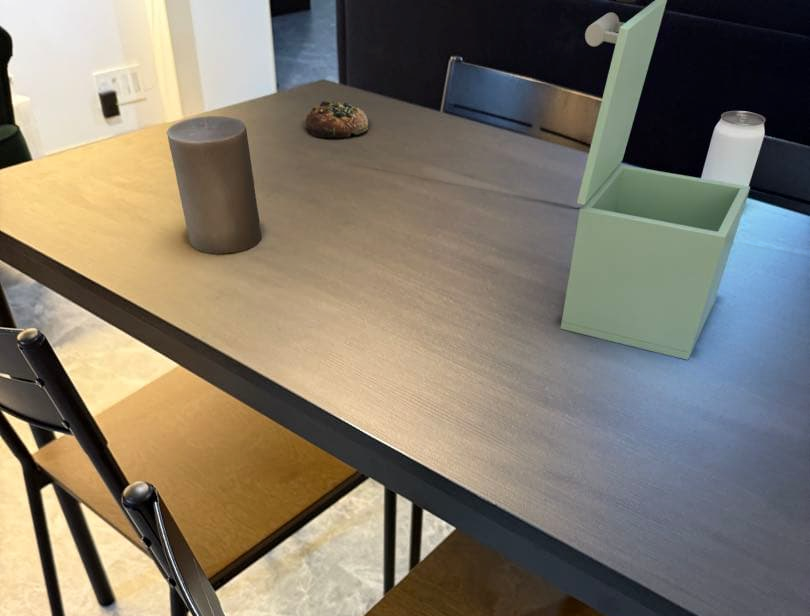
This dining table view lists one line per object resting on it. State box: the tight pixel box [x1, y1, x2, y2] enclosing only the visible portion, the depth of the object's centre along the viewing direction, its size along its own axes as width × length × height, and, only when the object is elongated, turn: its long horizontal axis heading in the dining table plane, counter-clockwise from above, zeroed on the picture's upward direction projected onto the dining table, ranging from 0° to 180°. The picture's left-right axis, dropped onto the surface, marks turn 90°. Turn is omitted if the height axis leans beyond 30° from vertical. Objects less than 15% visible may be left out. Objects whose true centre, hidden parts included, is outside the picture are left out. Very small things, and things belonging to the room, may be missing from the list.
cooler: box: [560, 164, 751, 361], centre depth 83 cm, size 14×14×13 cm
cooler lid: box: [576, 0, 668, 206], centre depth 75 cm, size 15×14×5 cm
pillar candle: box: [166, 115, 263, 255], centre depth 97 cm, size 10×10×15 cm
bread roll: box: [305, 100, 369, 139], centre depth 132 cm, size 11×11×5 cm
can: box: [700, 110, 766, 187], centre depth 105 cm, size 6×6×12 cm
